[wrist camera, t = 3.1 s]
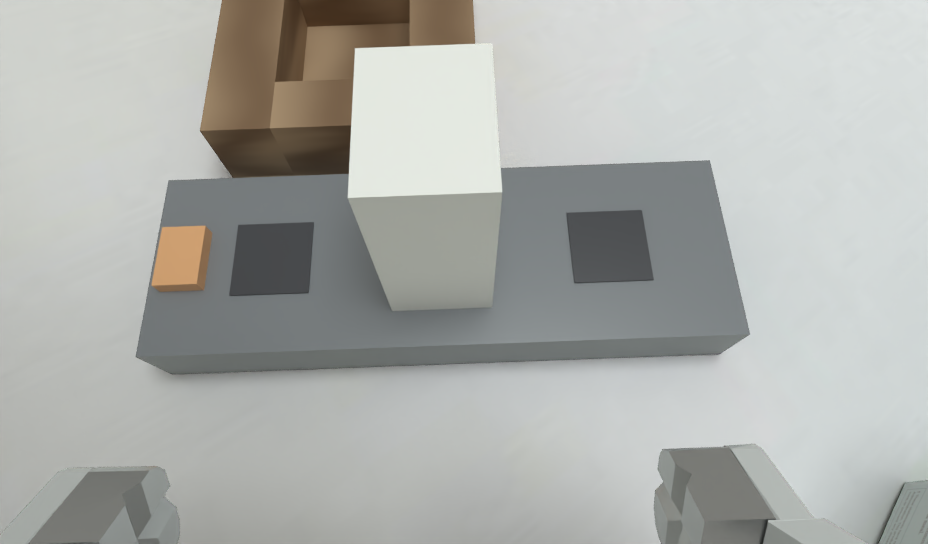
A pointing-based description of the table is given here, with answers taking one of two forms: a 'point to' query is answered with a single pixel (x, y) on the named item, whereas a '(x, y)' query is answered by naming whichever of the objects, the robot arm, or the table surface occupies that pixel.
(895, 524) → the supplement box
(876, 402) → the table surface
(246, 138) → the square wooden tray
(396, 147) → the white rectangular block
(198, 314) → the power strip
